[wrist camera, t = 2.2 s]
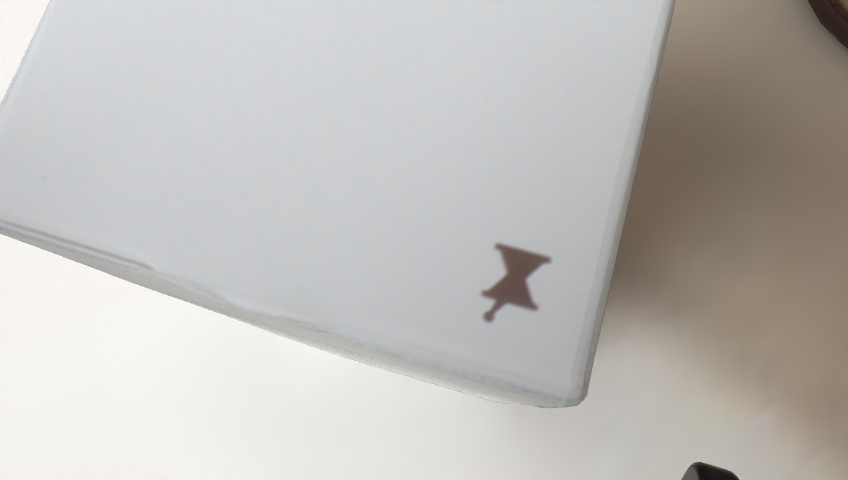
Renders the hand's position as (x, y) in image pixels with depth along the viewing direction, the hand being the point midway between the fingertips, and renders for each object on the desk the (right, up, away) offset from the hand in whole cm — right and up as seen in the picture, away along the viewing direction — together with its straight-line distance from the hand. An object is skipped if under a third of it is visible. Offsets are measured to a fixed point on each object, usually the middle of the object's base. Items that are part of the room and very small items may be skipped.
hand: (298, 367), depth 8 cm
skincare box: (+1, 0, +10) cm, 10 cm away
